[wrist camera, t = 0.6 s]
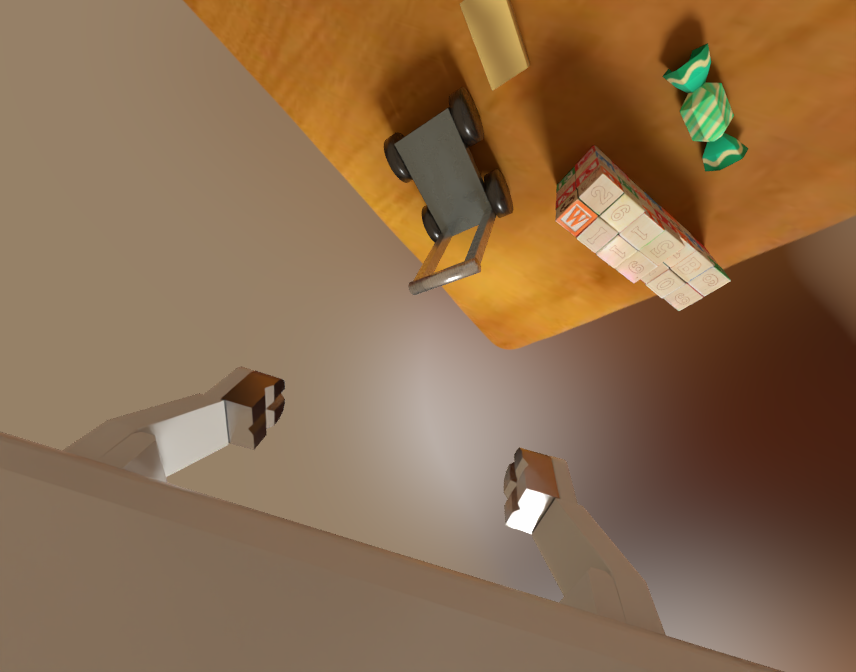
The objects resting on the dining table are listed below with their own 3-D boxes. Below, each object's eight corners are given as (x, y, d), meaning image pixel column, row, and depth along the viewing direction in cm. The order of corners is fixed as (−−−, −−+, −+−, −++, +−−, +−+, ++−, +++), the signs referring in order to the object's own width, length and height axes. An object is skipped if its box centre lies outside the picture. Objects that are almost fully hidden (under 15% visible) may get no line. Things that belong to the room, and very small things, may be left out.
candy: (752, 142, 37) (738, 165, 36) (715, 156, 40) (701, 177, 39) (712, 36, 33) (695, 59, 32) (674, 61, 36) (657, 82, 35)
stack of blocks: (706, 245, 45) (742, 296, 37) (661, 275, 50) (684, 327, 41) (593, 143, 41) (603, 172, 33) (554, 185, 46) (554, 221, 37)
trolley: (514, 203, 49) (497, 276, 34) (446, 233, 55) (406, 306, 40) (466, 84, 41) (417, 111, 26) (394, 134, 47) (320, 179, 32)
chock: (503, -22, 34) (497, -28, 31) (530, 64, 38) (527, 67, 35) (469, 7, 37) (459, 4, 33) (497, 85, 40) (492, 90, 37)
